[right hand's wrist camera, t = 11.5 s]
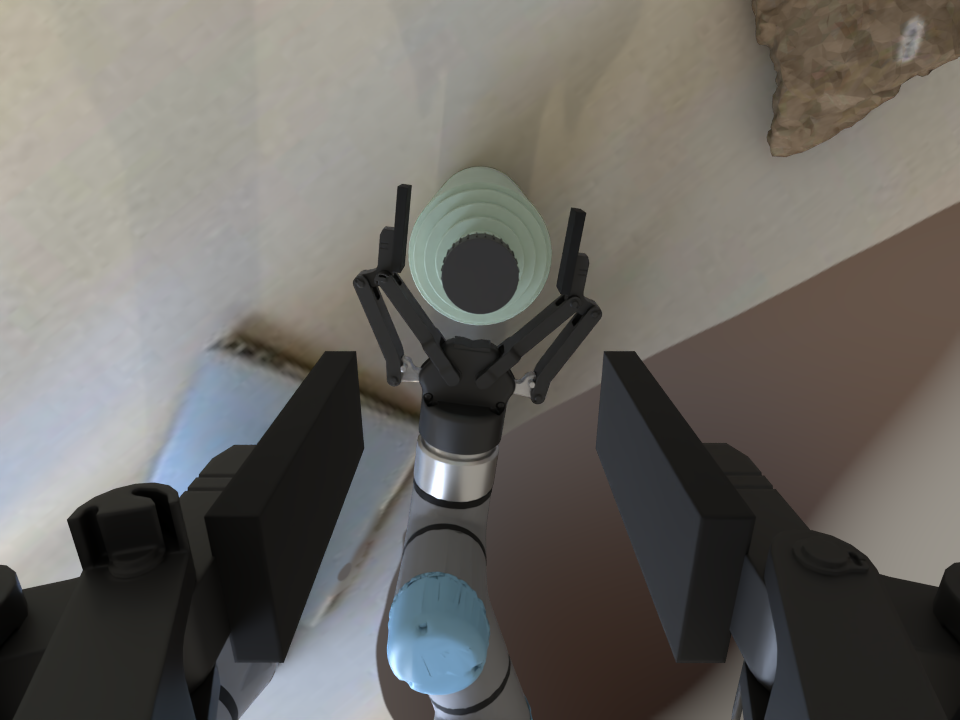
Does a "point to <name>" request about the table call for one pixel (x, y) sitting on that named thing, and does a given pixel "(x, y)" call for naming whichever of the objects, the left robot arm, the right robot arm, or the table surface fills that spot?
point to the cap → (480, 273)
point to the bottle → (480, 208)
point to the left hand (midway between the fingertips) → (492, 197)
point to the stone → (847, 59)
